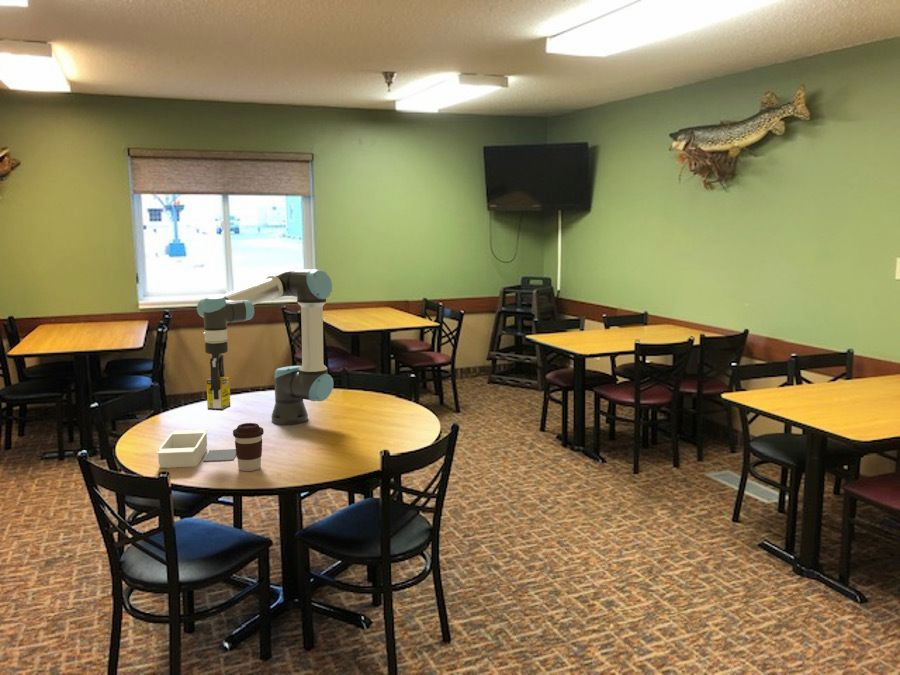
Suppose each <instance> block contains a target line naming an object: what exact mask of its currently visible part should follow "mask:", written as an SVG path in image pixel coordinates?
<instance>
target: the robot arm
mask: <svg viewBox="0 0 900 675" xmlns="http://www.w3.org/2000/svg"><path fill="white" fill-rule="evenodd" d="M331 279H332V278H331V277H330V275H329V274H328V273H327V272H326V271H325V270H322V269H316V268H296V267H294V268H290V269H289V268H288V269H286V270H282V271H279V272H276V273H274V274H271V275H269V276H267V277H266V278H265V279H264V280H261V281H259V282H256V283H253V284H251V285H250V284H249V285H247V286H244V287H242V288H239V289H235V290H234V291H233V290H232V291H231V292H227V293H225V294H223V295H222V294H221V295H219V296H208V297H204V298H201V299H200V300H199V301H198V303H197V305H196V311H197V314H198V315H199V317H201V318H203V329H204V331H203V332H202V335H204V341H205V343H204V351H205V352H204V353H205V354H208V355H211V358H210V359H209V361H210V362H209V366H210V367H209V368H210V379H211V388H210V390H212V397H213V408H221V389H220V377H225V367H224V366H225V365H224V364H225V363H224V360H225V358H224V357H225V355H224V354H226V353H227V352H228V351H229V347H228V346H229V345H228V324H229V323H238V322H246V321H250V320H252V319H253V317H254V316H255V307H254V305H256V304H259V303H262V302H264V301H267V300H270V299H273V298H274V299H280V298H282V297H284V298H285V297H295V298H296V302H297V305H299V306H300V312H301V313H300V316H301V317H300V318H301V365H289V366H282V367H278V368H276V369H275V371H274V378H273V381H274V400H275V402H274V407H273V410H272V413H271V422H272V423H274V424H276V425H286V426H287V425H289V426H290V425H298V424H301V422H302V423H305V422H307V421H308V420H309V414H308V411H307V408H306V406H305V402H304V400H306V401H307V400H308V401H310V402H323V401H325V400H327V399H328V398H329V397H330V396H331V394H332V391H333V389H334V378H333V377H332V375H330V374H329V373H328V367H327V366H326V365H325V364H324V325H323V324H324V322H323V321H324V318H323V314H324V313H323V312H324V311H323V307H324V306H325V304H327V299H328V298H329V297H330V295H331V293H332V292H333V283H332V280H331ZM307 419H308V420H307ZM306 420H307V421H306ZM304 421H305V422H304ZM297 423H298V424H297Z"/></svg>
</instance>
